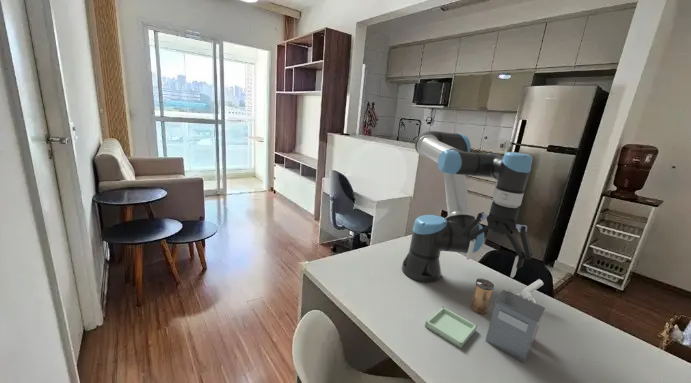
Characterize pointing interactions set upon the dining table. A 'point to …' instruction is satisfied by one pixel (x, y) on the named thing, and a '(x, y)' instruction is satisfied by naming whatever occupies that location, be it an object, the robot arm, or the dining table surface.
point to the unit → (514, 324)
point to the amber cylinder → (481, 296)
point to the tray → (451, 327)
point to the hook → (530, 290)
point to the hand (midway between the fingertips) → (489, 266)
